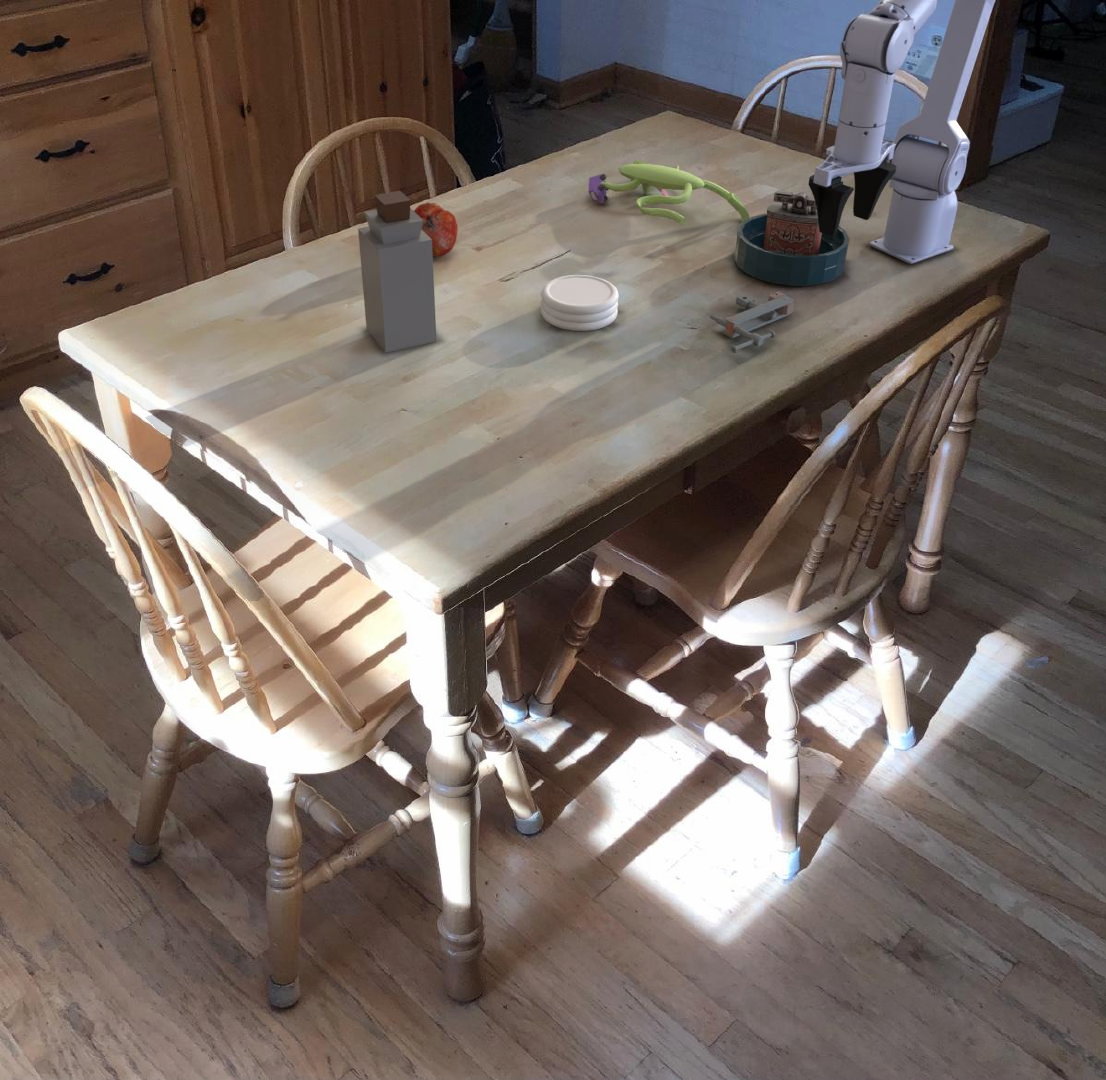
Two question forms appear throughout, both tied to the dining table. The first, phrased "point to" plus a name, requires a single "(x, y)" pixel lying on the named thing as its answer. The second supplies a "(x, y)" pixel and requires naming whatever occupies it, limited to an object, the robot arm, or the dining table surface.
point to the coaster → (579, 302)
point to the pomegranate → (438, 227)
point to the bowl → (788, 257)
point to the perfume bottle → (397, 275)
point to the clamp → (768, 311)
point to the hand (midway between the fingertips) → (844, 225)
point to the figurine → (660, 188)
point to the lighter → (792, 225)
